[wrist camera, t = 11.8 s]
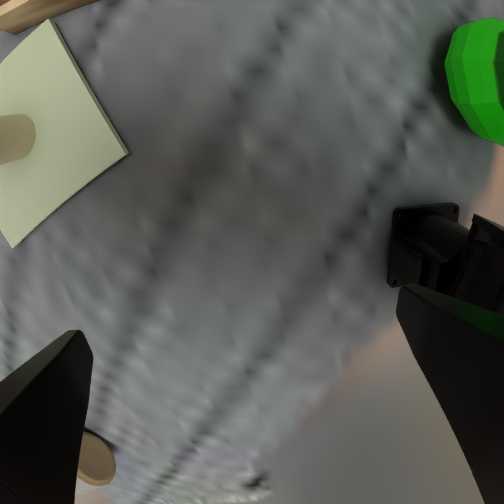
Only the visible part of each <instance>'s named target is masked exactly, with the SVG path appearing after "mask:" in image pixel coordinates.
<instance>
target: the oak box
mask: <svg viewBox="0 0 504 504" xmlns="http://www.w3.org/2000/svg"><path fill="white" fill-rule="evenodd" d="M96 1H99V0H0V30H1V31H5V32H8V33H12V34H15V35H16V34H18V33H20V32H22V31H24V30H26V29H28V28H30V27H32V26H34V25H37V24H39V23H41V22H43V21H45V20H47V19H48V18H49V19H50V18H52V17H55V16H57V15H60V14H62V13H65V12H67V11H70V10H73V9H75V8H78V7H81V6H84V5H87V4H89V3H92V2H96Z"/></svg>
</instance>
